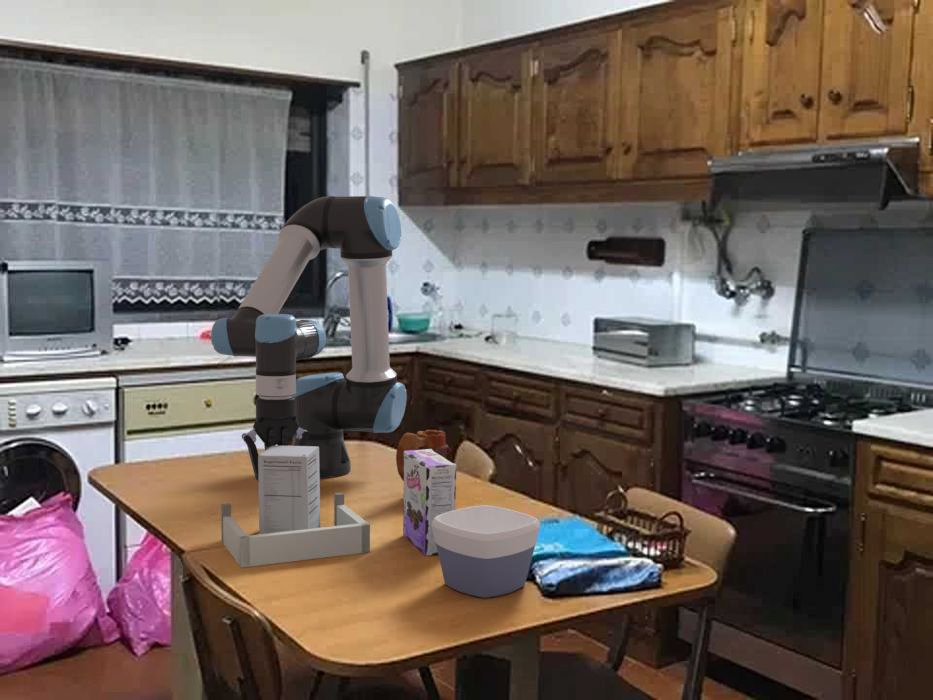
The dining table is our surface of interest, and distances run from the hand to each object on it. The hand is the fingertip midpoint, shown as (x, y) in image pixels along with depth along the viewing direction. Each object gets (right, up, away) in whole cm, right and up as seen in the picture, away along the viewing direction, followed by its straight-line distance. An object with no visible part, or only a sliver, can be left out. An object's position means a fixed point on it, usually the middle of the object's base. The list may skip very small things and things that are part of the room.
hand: (276, 518), depth 199 cm
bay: (+5, -3, -10) cm, 12 cm away
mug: (+27, 0, +24) cm, 36 cm away
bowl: (+39, -6, -30) cm, 50 cm away
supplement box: (+4, -3, -6) cm, 8 cm away
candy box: (+29, -4, -8) cm, 31 cm away
